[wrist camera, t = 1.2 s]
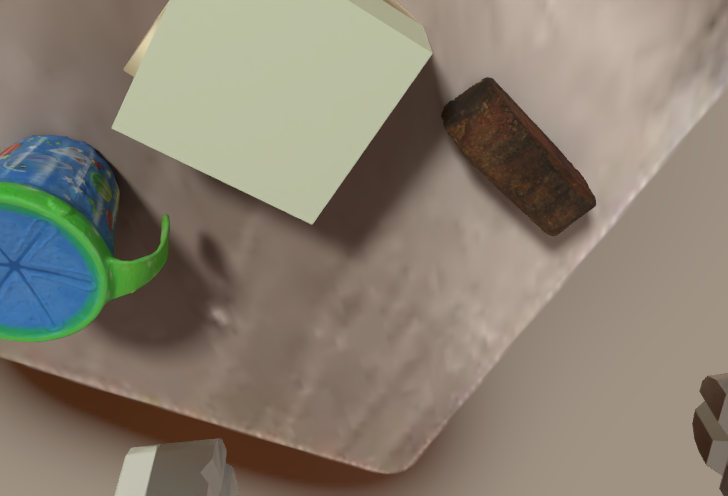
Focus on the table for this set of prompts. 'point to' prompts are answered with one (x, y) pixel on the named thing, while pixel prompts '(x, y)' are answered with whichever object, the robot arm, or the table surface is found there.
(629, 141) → the table surface
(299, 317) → the table surface
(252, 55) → the upper slab
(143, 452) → the robot arm
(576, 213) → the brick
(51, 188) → the snack cup
